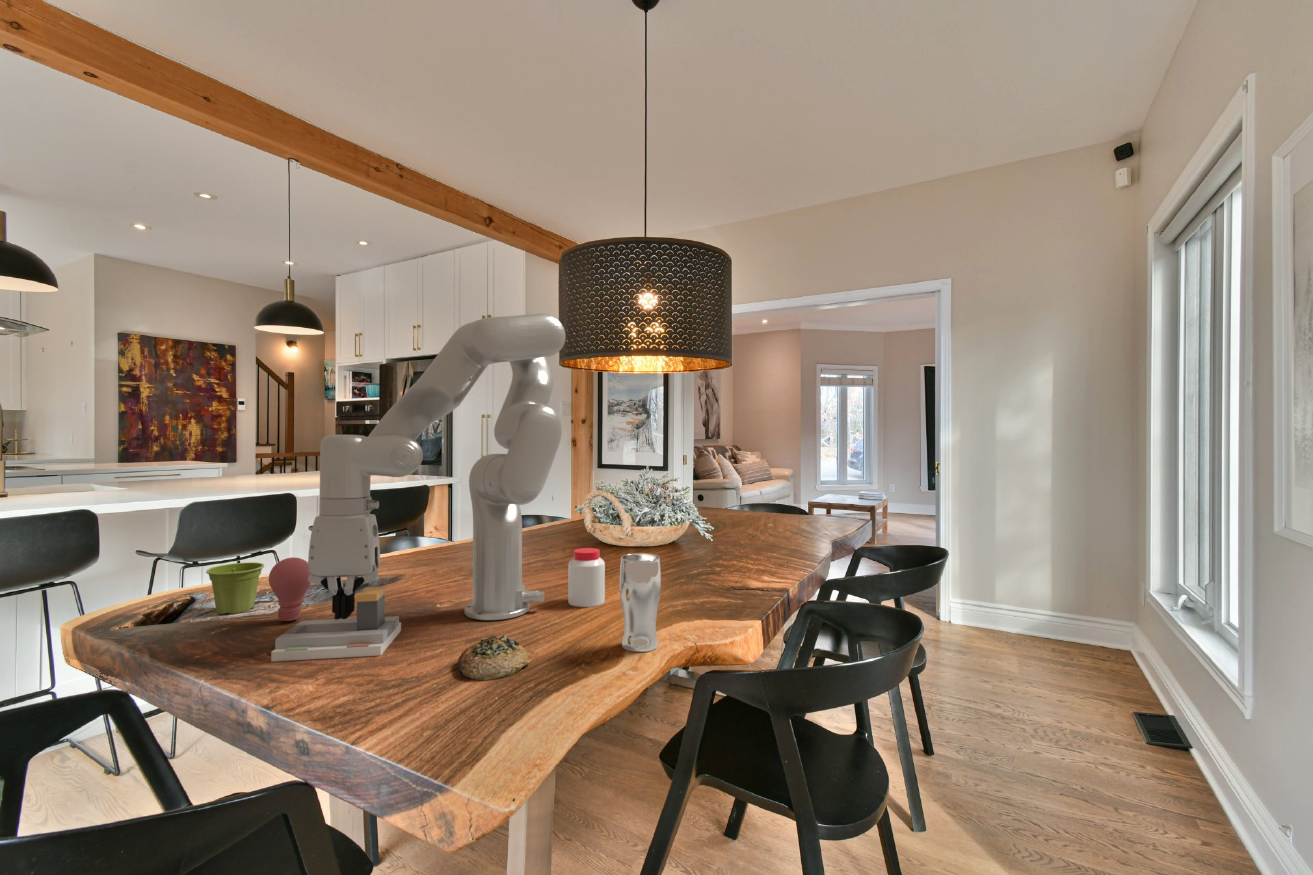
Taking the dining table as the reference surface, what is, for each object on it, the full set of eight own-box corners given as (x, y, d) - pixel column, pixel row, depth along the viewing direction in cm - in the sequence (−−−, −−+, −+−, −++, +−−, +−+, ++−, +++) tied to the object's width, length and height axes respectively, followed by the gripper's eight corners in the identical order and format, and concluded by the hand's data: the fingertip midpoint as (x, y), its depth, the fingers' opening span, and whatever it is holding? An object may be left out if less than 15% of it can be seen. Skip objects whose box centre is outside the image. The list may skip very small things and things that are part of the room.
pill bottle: (589, 609, 117) (589, 555, 117) (560, 603, 121) (560, 551, 121) (612, 600, 124) (612, 549, 124) (584, 595, 128) (584, 545, 128)
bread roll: (470, 651, 94) (474, 621, 94) (537, 661, 94) (541, 631, 94) (442, 682, 83) (447, 649, 83) (518, 694, 83) (522, 661, 83)
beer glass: (629, 656, 92) (630, 562, 92) (612, 642, 99) (613, 554, 98) (668, 649, 96) (668, 558, 96) (649, 636, 102) (649, 551, 102)
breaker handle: (385, 627, 100) (385, 586, 100) (376, 636, 96) (376, 593, 96) (365, 628, 100) (365, 586, 100) (355, 638, 95) (356, 594, 95)
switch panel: (401, 630, 104) (401, 613, 104) (380, 655, 92) (380, 636, 92) (304, 635, 102) (304, 618, 102) (271, 661, 90) (271, 642, 90)
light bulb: (321, 615, 113) (321, 554, 113) (295, 627, 105) (295, 562, 105) (287, 614, 113) (287, 553, 113) (259, 626, 106) (259, 561, 106)
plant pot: (272, 608, 117) (272, 565, 117) (218, 620, 109) (218, 575, 109) (251, 601, 122) (251, 560, 122) (197, 612, 114) (197, 568, 114)
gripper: (398, 505, 102) (396, 609, 102) (306, 505, 99) (304, 612, 99) (385, 510, 94) (383, 622, 94) (286, 510, 92) (284, 625, 92)
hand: (343, 616), depth 97 cm, fingers closed
